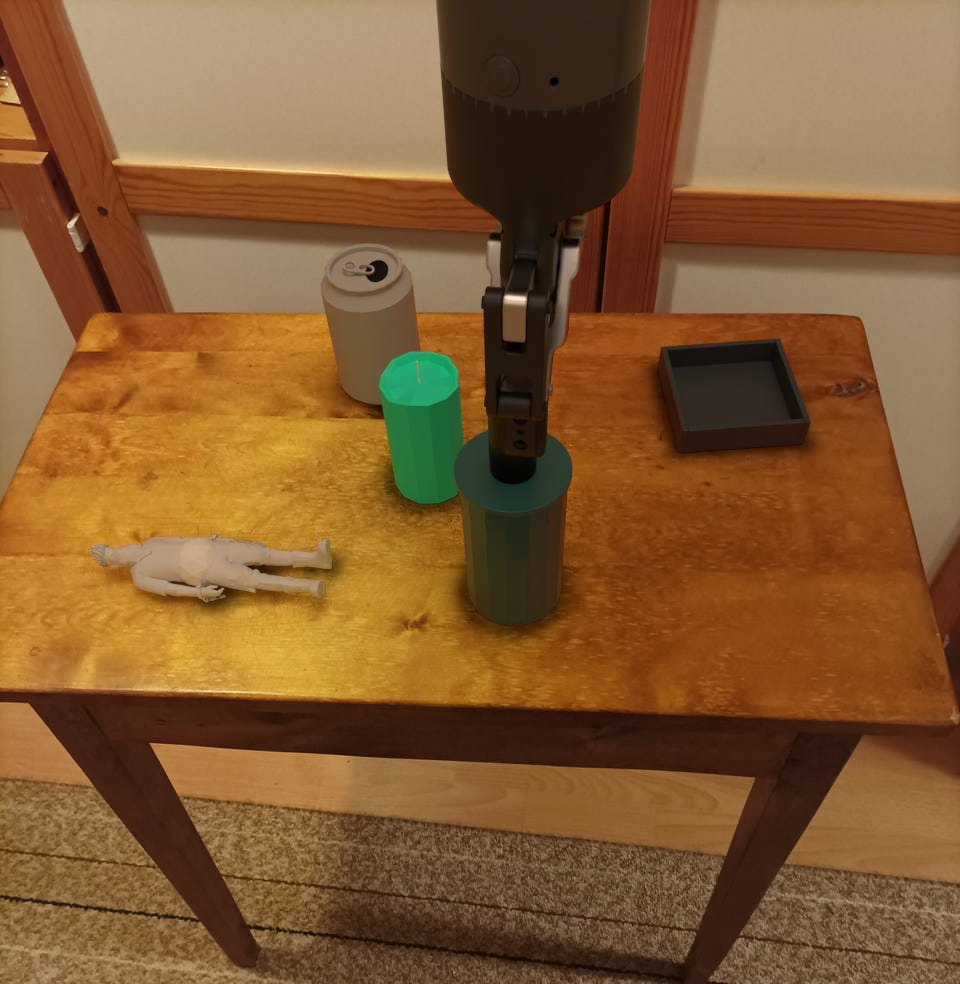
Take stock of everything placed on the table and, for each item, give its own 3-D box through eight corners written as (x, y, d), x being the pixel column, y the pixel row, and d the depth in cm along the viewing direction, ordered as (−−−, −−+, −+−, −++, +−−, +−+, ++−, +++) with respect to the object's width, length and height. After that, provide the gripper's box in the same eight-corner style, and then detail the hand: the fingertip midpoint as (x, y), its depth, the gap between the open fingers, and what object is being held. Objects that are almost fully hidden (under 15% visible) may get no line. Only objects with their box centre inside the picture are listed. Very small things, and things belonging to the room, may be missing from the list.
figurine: (318, 590, 65) (66, 578, 65) (324, 624, 68) (84, 613, 68) (331, 519, 69) (95, 508, 69) (336, 555, 73) (110, 544, 72)
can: (422, 410, 80) (407, 292, 70) (337, 412, 80) (311, 294, 70) (426, 354, 84) (412, 234, 74) (345, 355, 84) (321, 237, 74)
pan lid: (565, 433, 61) (569, 347, 55) (578, 519, 57) (585, 436, 51) (452, 441, 61) (444, 356, 55) (457, 528, 57) (450, 445, 51)
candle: (432, 440, 78) (419, 323, 68) (481, 476, 75) (475, 359, 65) (380, 478, 76) (358, 362, 66) (428, 516, 73) (414, 402, 63)
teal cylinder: (555, 548, 71) (561, 430, 60) (565, 622, 67) (573, 509, 57) (466, 555, 71) (456, 437, 60) (470, 629, 67) (461, 517, 57)
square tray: (773, 360, 82) (780, 337, 80) (803, 444, 76) (811, 422, 74) (657, 369, 82) (660, 346, 80) (678, 453, 76) (682, 431, 74)
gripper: (628, 160, 29) (593, 503, 42) (659, -35, 36) (621, 310, 50) (398, 146, 30) (436, 486, 43) (475, -40, 37) (487, 299, 51)
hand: (535, 391), depth 47 cm, fingers open, 8 cm apart
